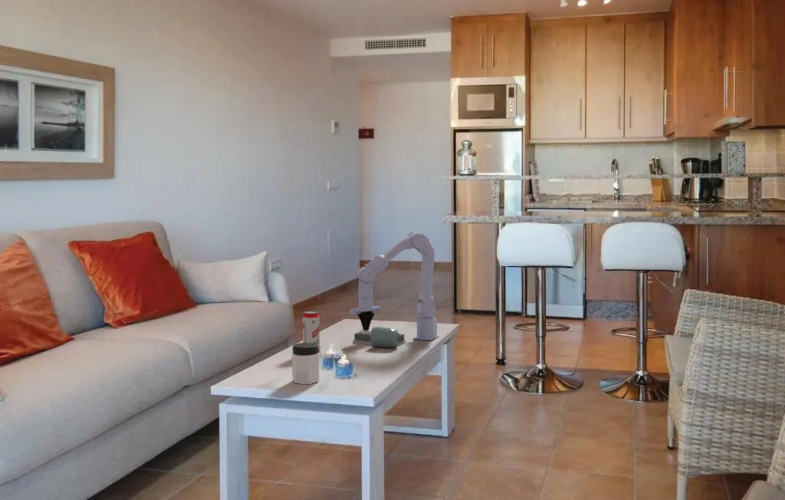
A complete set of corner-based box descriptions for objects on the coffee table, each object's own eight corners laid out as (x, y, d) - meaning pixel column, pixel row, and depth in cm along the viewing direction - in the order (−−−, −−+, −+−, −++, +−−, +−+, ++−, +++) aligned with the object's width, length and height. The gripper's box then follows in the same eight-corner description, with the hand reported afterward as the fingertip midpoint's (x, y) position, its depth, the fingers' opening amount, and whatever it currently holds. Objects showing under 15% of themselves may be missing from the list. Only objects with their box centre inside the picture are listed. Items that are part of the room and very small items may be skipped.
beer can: (322, 352, 298) (322, 311, 296) (315, 356, 292) (315, 313, 290) (307, 351, 300) (306, 310, 298) (300, 355, 294) (299, 312, 292)
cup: (394, 329, 302) (370, 327, 305) (393, 349, 302) (369, 347, 305) (401, 327, 309) (378, 325, 313) (400, 347, 309) (377, 345, 313)
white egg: (363, 336, 322) (363, 328, 322) (372, 336, 320) (372, 329, 320) (359, 337, 318) (359, 330, 318) (368, 338, 317) (368, 331, 316)
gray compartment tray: (362, 338, 325) (362, 330, 325) (405, 342, 317) (405, 334, 316) (352, 342, 317) (352, 333, 317) (397, 346, 309) (397, 337, 309)
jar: (306, 376, 261) (306, 341, 260) (324, 380, 256) (324, 344, 255) (286, 382, 254) (286, 345, 253) (304, 386, 249) (303, 348, 248)
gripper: (373, 294, 326) (373, 326, 327) (345, 297, 316) (345, 331, 317) (384, 296, 320) (384, 329, 321) (356, 299, 311) (356, 333, 312)
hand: (365, 330), depth 319 cm, fingers closed, pressing on white egg
